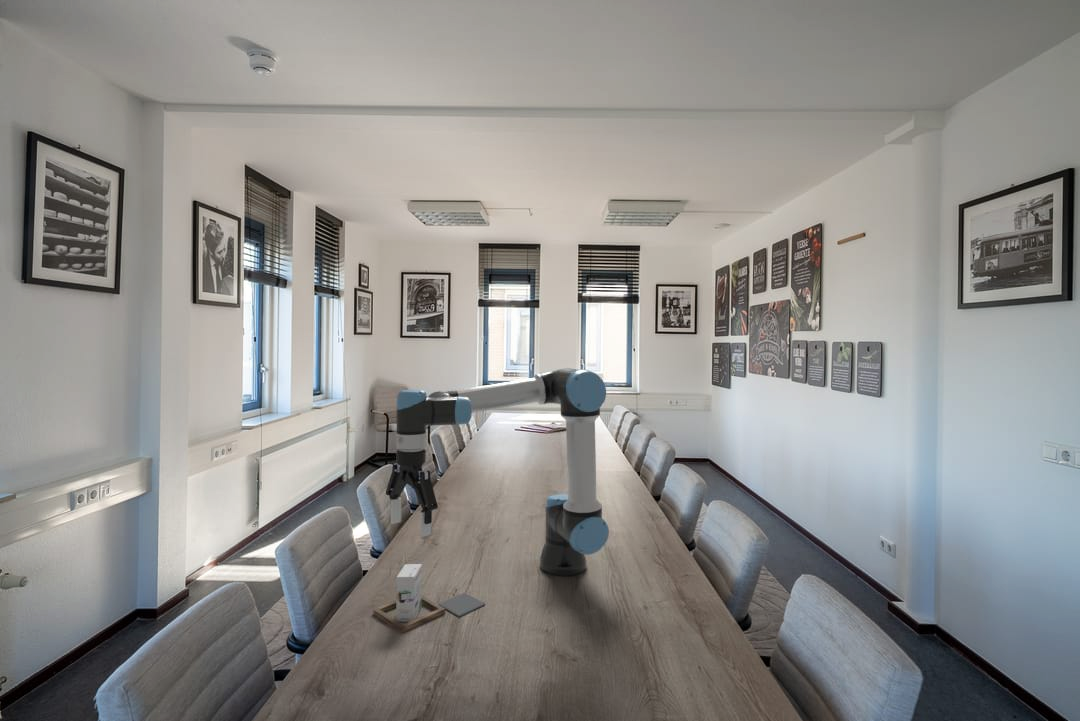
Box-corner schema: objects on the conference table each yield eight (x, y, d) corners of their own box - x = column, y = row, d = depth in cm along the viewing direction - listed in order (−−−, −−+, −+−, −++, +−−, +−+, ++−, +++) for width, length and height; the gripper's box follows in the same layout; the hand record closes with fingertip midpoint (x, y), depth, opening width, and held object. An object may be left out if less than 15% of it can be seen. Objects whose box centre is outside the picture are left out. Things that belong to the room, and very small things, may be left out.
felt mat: (464, 594, 150) (464, 592, 150) (485, 604, 144) (485, 603, 144) (438, 605, 143) (438, 603, 143) (459, 617, 137) (459, 615, 137)
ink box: (404, 605, 143) (404, 562, 143) (422, 605, 143) (422, 563, 143) (395, 621, 134) (395, 576, 134) (414, 622, 134) (414, 577, 134)
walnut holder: (416, 596, 148) (416, 592, 148) (445, 613, 139) (445, 608, 139) (373, 613, 138) (373, 609, 138) (401, 633, 129) (401, 628, 129)
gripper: (373, 444, 143) (372, 520, 143) (427, 458, 126) (426, 545, 127) (397, 440, 148) (396, 514, 149) (452, 454, 132) (451, 537, 132)
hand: (410, 529), depth 138 cm, fingers open, 13 cm apart
